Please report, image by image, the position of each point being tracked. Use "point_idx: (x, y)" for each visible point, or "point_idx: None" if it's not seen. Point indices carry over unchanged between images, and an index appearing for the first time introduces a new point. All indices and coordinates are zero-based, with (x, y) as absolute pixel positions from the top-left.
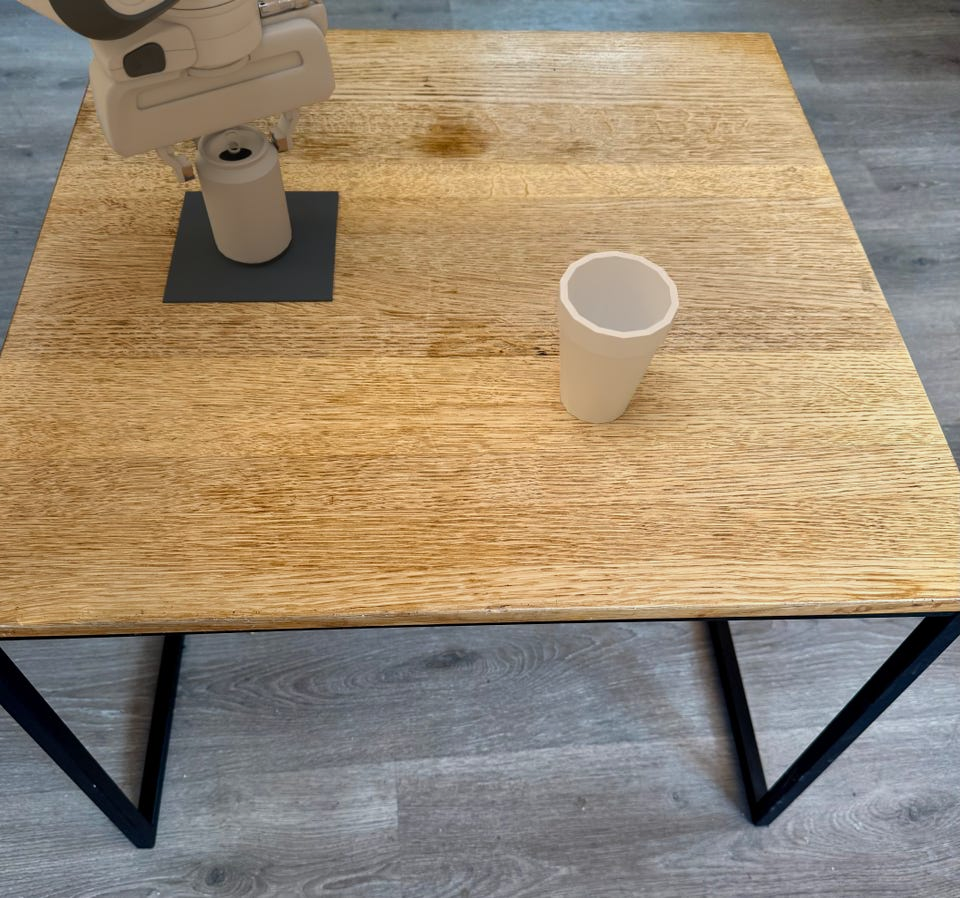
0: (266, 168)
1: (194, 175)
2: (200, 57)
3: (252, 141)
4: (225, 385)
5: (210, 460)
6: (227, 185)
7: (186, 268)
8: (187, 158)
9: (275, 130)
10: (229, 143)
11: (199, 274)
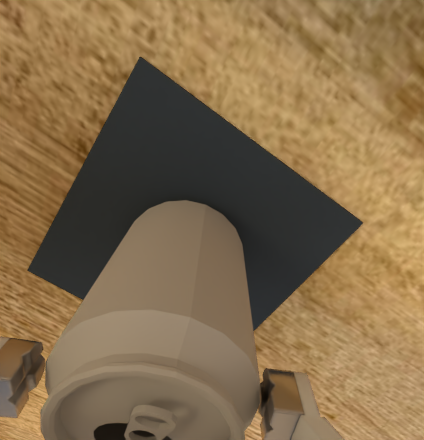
0: None
1: (37, 384)
2: None
3: (201, 431)
4: None
5: (25, 433)
6: (96, 436)
7: (75, 237)
8: (13, 392)
9: (284, 423)
10: (135, 429)
11: (88, 257)
